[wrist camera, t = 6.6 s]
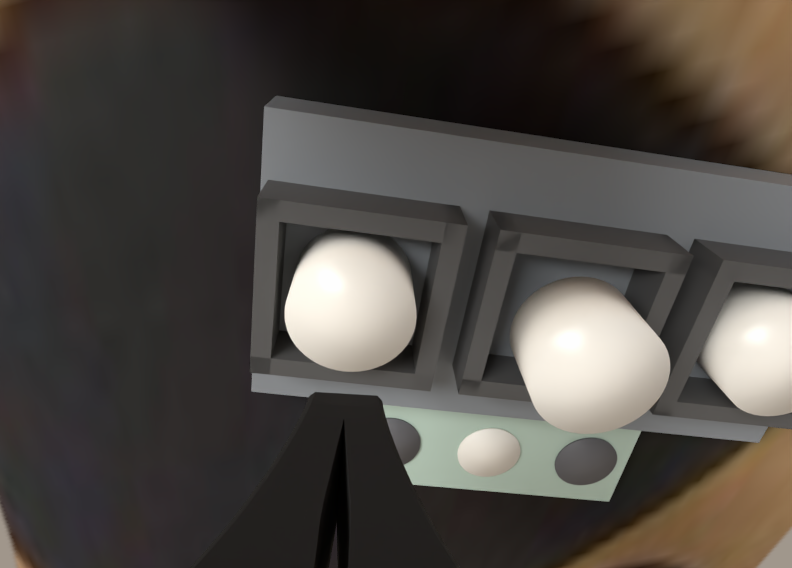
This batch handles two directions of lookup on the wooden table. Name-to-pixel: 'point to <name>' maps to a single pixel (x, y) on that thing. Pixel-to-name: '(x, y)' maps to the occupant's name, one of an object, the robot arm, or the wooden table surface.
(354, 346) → the button near
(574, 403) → the button middle
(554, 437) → the card
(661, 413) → the board
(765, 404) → the button far
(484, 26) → the wooden table surface
